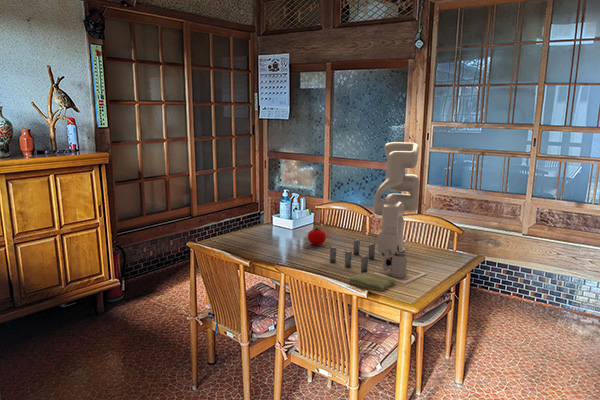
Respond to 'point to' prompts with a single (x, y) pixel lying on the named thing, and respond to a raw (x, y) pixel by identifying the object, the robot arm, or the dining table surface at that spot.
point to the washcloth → (372, 281)
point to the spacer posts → (356, 252)
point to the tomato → (316, 236)
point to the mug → (396, 264)
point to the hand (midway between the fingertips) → (387, 266)
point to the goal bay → (408, 279)
